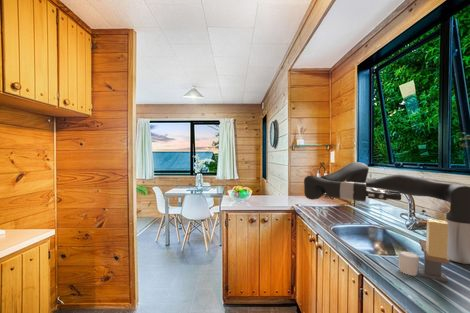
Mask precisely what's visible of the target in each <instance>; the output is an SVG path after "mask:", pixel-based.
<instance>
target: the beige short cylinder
mask: <svg viewBox="0 0 470 313" xmlns="http://www.w3.org/2000/svg"><path fill="white" fill-rule="evenodd" d="M397 254H398V268H399V269H398V270H399V272H400V273H402V272H403V274H404V273H405V275H407V274H408V275H409V276H418V273H419V272H418V268H419V265H420V258H421V257H420V255H419V254H417V253H415V252H411V251H406V250H399V251H397Z"/></svg>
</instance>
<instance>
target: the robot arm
mask: <svg viewBox="0 0 470 313" xmlns="http://www.w3.org/2000/svg"><path fill="white" fill-rule="evenodd" d="M369 169H370V168H369V166H368V165H367V164H366V163H364V162H359V161H354V162H351V163H349V164H347V165H345V166H343V167H341V168H340V169H338V170H336V171H333V172H332V173H329V174H325V175H322V176H316V175H311V174H310V175H308V176H305V177H304V179H303V188H304V191H303V192H304V197H305V198H306V199H308V200H318V199H320V198H321V197H323V196H324V195H326V196H327V197H328V198H332V199H333V198H335V199H342V200H346V201H347V200H348V201H356V202H363V203H365V202H366V201H367V198H368V199H373V200H380V201H381V200H383V201H388V200H395V201H402V195H403V194H404V195H408V196H415V197H428V198H434V199H438V200H441V201H444V202H448V203H450V205H449V211H448V212H446V214H445V221H446V222H447V223H448V242H447V257H448V258H449V260H450V261H451V262H454V263H455V262H456V263H460V264H464V265H470V186H468V185H464V184H458V183H446V182H445V183H444V182H437V181H432V180H428V179H425V178H422V177H419V176H414V175H409V174H403V173H394V174H390V175H387V176H386V175H385V176H383V177H379V178H372V177H371V178H369V177H368V174H369Z"/></svg>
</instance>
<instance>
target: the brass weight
mask: <svg viewBox="0 0 470 313" xmlns="http://www.w3.org/2000/svg"><path fill="white" fill-rule="evenodd" d="M425 241H426V252H427V254H428V256H432V257H438V258H443V259H447V242H448V223H447V222H446V220H441V219H433V218H427V219H426V240H425Z"/></svg>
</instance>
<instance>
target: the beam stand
mask: <svg viewBox="0 0 470 313" xmlns="http://www.w3.org/2000/svg"><path fill="white" fill-rule="evenodd" d="M442 265H443V263H439V262H434V261H429V260H427V259H426V257H425V254H424V253H423V268H420V267H418V272H417V273H418V275H419V276H420V277H423V278H429V279H433V280H438V281H442V282H447V283H448V277H447V276H446V274H445V273H443V272H442Z"/></svg>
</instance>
